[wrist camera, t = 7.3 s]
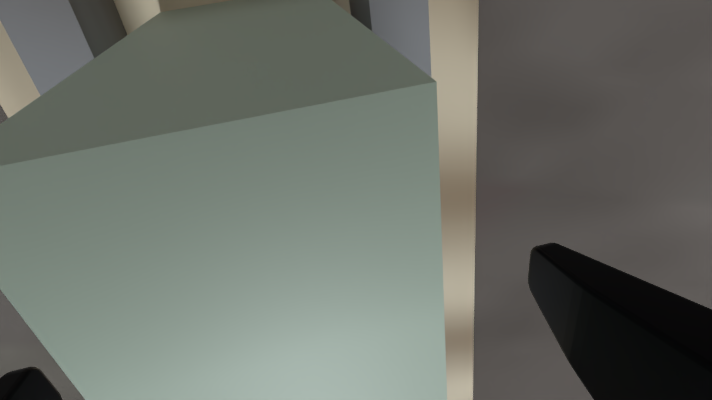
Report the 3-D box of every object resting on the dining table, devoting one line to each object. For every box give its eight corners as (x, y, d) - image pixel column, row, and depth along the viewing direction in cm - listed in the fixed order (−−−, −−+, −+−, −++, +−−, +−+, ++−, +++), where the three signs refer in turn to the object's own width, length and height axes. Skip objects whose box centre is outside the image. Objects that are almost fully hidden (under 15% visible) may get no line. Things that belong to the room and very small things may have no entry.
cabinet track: (462, 390, 18) (495, 462, 16) (224, 453, 17) (218, 541, 15) (457, -487, 7) (581, -753, 4) (-266, -436, 6) (-691, -742, 3)
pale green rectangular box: (370, 330, 14) (454, 618, 8) (278, 352, 14) (293, 669, 8) (314, -14, 9) (437, 81, 3) (160, 12, 8) (-85, 180, 2)
